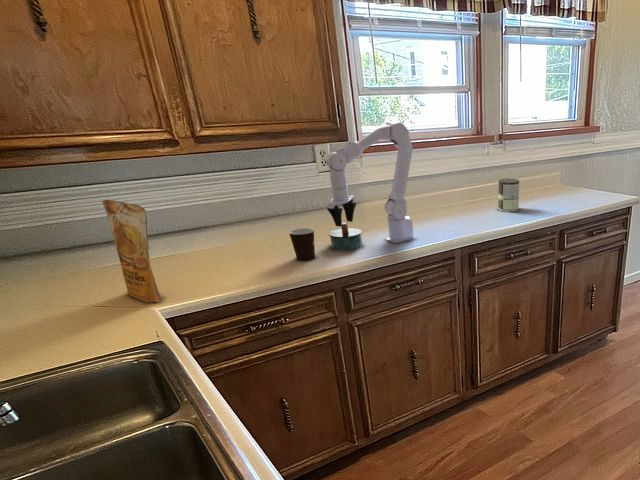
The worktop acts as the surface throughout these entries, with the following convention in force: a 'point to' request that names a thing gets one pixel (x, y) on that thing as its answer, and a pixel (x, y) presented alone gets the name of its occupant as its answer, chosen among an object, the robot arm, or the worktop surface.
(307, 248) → the coffee mug
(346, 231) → the lid
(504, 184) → the coffee can
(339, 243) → the pot
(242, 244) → the worktop surface
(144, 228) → the pancake mix bag
